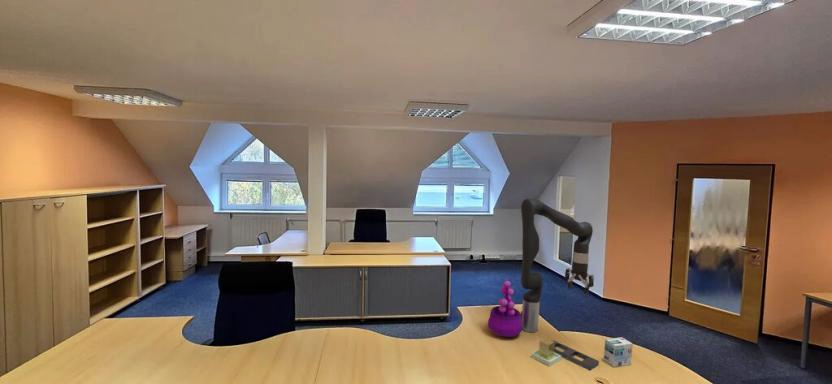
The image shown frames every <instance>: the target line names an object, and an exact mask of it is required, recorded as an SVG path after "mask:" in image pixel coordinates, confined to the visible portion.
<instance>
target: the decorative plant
mask: <svg viewBox="0 0 832 384" xmlns="http://www.w3.org/2000/svg"><path fill="white" fill-rule="evenodd" d="M511 287H512V284H511V281H509V280H505V281H504V282H503V286H501V289H500V290H501V294H503V295H504V298H500V299H498V305H497V306H494V307H492V308H491V309H490V312H489V313H490V314H489V317H488V320H487V326H488V329H489V330H490V331H491V332H492V333H494V334H496V335H498V336H501V337H507V338H509V337H510V338H511V337H516V336H518V335H519V334H521V332H522V331H523V329H522V321H521V311H520V310H518V309H517V308H515V306H516V305H515V304H516V303H514V301H512V297H511V296H512V295H513V294H514V293H515V291H514V289H512V288H511Z"/></svg>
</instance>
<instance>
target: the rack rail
mask: <svg viewBox="0 0 832 384" xmlns="http://www.w3.org/2000/svg"><path fill="white" fill-rule="evenodd" d="M552 341H553V342H555V343H554V352H555V353H557V354H559V355H561V358H564V359H566V360H568V361H570V362H572V363H573V364H576V365H578V366H581V367H583V368H584V369H586V370H588V371H592V370H594V369H595V368H596V367H599V364H600V360H598V359H596V358H593V357H591V356H589V355H586V354H584V353H582V352H580V351H579V350H576V349H574V348H571V347H569V346H567V345H565V344H562V343H561V342H558V341H556V340H552ZM557 348H559V349H561V350H563V351H561V350H559V349H557ZM575 356H577V357H578V358H580V359H583V360H580V359H578V358H576V357H575Z"/></svg>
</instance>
